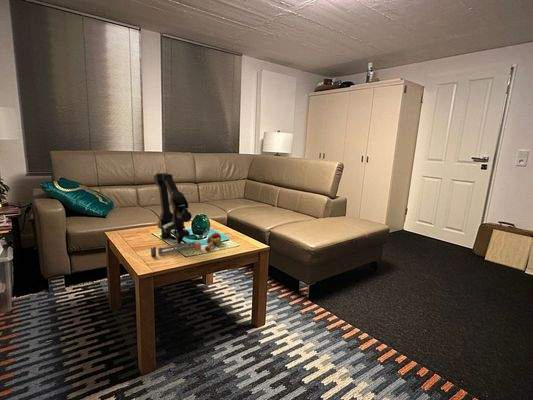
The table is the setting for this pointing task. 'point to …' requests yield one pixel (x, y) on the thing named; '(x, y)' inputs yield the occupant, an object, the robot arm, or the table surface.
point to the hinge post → (153, 251)
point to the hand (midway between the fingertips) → (179, 244)
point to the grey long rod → (175, 247)
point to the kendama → (213, 241)
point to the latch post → (197, 246)
